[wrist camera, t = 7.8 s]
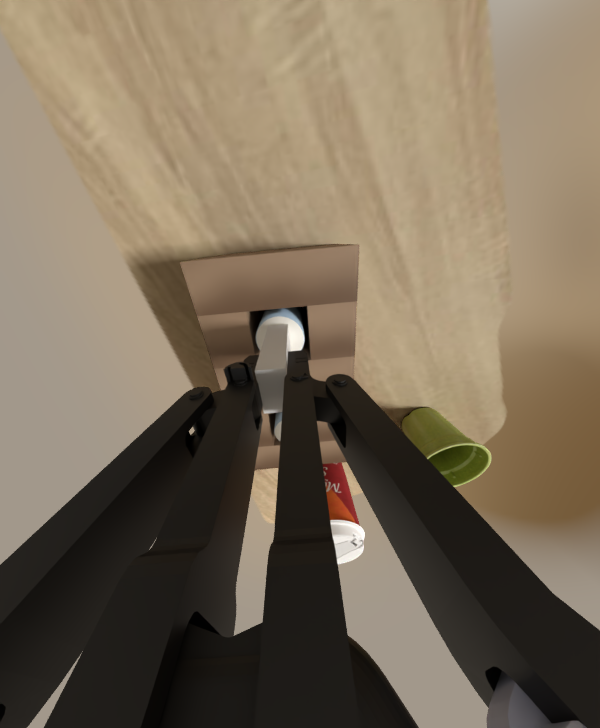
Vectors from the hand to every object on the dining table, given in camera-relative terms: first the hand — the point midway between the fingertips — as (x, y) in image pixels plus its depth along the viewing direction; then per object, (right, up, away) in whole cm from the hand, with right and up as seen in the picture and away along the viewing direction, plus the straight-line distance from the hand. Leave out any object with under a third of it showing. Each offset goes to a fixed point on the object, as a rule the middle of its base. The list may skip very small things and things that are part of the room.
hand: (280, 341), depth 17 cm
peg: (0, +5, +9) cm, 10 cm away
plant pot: (+21, -11, +20) cm, 31 cm away
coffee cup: (+5, -16, +22) cm, 27 cm away
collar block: (0, +1, +12) cm, 12 cm away
